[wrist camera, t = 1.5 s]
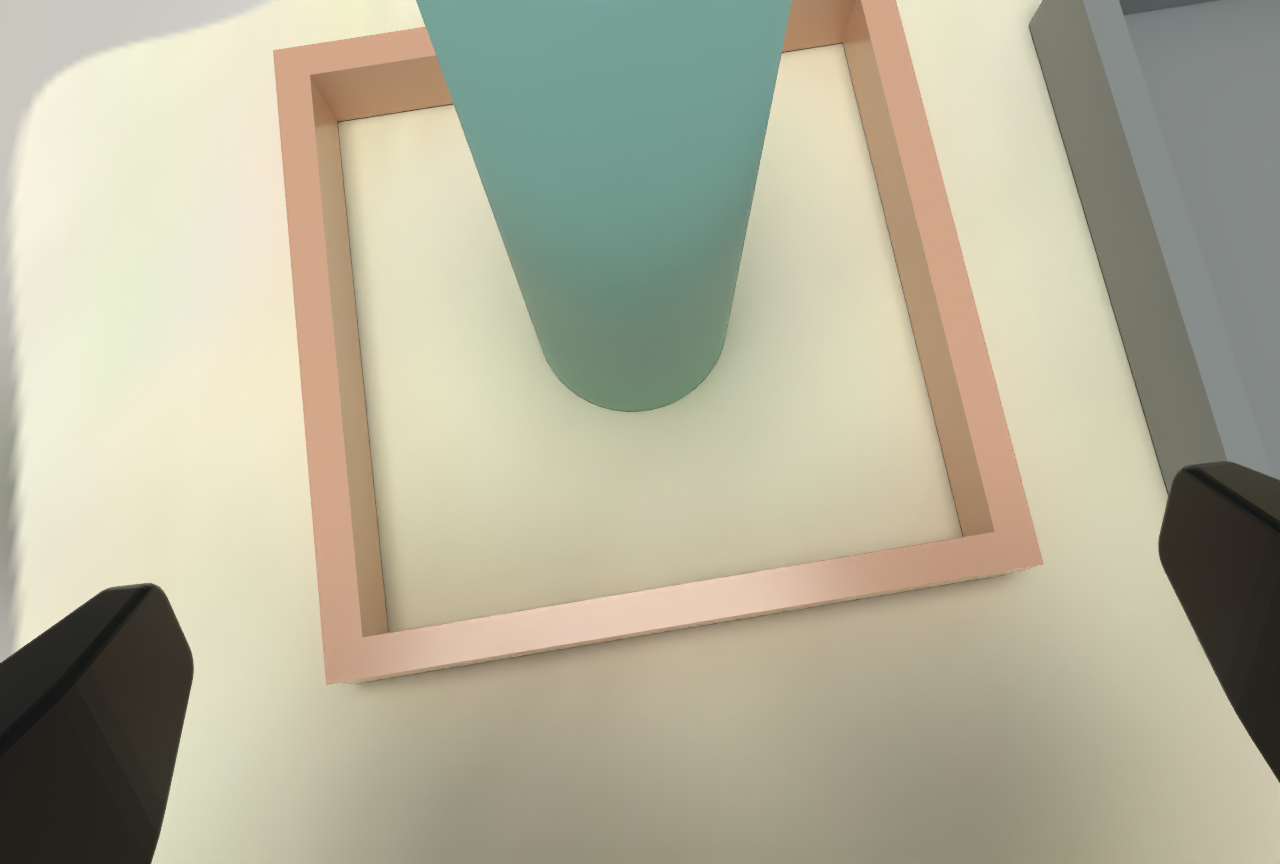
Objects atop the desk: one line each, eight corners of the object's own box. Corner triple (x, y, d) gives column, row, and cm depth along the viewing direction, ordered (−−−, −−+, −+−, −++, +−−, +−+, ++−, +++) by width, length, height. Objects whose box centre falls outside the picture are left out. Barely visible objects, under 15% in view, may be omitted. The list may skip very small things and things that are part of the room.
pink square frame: (1008, 573, 22) (1043, 564, 20) (356, 683, 21) (325, 684, 20) (866, 11, 25) (884, -45, 23) (303, 98, 25) (273, 50, 23)
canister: (750, 264, 24) (874, -289, 10) (693, 436, 23) (743, 81, 9) (575, 211, 24) (467, -388, 10) (511, 377, 23) (299, -45, 10)
